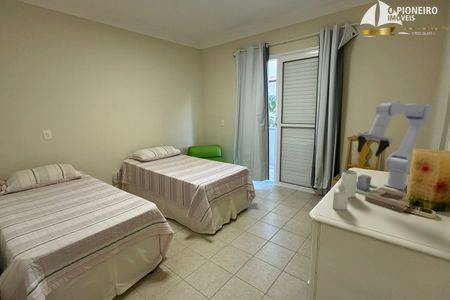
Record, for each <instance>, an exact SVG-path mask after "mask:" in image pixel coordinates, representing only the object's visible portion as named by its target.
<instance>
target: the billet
mask: <svg viewBox="0 0 450 300" xmlns="http://www.w3.org/2000/svg"><path fill="white" fill-rule="evenodd" d="M371 180H372V176H370V175H366V174H360V175H357V185H356V189H357V190H361V191H364V192H367V191H369V190H370V188H371V187H370V184H371Z"/></svg>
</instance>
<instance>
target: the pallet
mask: <svg viewBox="0 0 450 300" xmlns="http://www.w3.org/2000/svg"><path fill="white" fill-rule="evenodd" d="M406 194H407V193H405V192H402V191H399V190H398V191H397V190H394V189H390V188H386V187H384V186H383V187H381V188H380V189H378V190H376V191H374V192H372V193H370V194H368V195H365V197H364V200H365V201H366V202H370V203H372V204H376V205H380V206H382V207H385V208H387V209H392V210H394V211H398V212H401V213H404V212H405V211H404V208H405V207H406V206H407V205H409V204H410V202H407V201H406ZM388 197H389V198H388ZM390 198H391V199H390ZM394 199H395V200H394ZM392 207H393V208H392Z"/></svg>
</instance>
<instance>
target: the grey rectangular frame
mask: <svg viewBox="0 0 450 300" xmlns="http://www.w3.org/2000/svg"><path fill="white" fill-rule="evenodd" d="M356 186H357V183H356ZM370 188H373V189H372V190H370V191H369V192H367V191H361V190H358V189H357V188H356V192H355V193H359V194H361V195H365V196H366V195H368V194H370V193H372V192H374V191H376V190H378V189H380V188H382V187H381V186H378V185H374V184H371V183H370Z"/></svg>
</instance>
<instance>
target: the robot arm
mask: <svg viewBox="0 0 450 300" xmlns="http://www.w3.org/2000/svg"><path fill="white" fill-rule="evenodd" d="M375 111H376V112H375V118H374V121H373V123H372V125H371V127H370V130H369V132H368V133H366V132H357V135H356V137H357V141H358V145H357V152H358V153H361V152H362V150H363V148H364V146H365V144H366V142H368V140H372V141H378V142H379V144H378V147H377V150H376V151H375V154H374V156H375V157H376V158H379V157H380V155H381V154H382V153H383V152H384V151H385V150H386V149H387V148H388V147H390V144H391V145H392V144H393V143H394V142H395V138H391V137H387V136H384V135H385V133H386V131H387V129H388V126H389V124H390V122H391V120H392V117H395V116H396V115H401V114H404V118H405V120H406V122H407V123H408V124H410V125H409V128H408V129H407V131H406V134H405V135H404V138H403V140H402V142H401V144H400V146H399V148H398V150H397V151H394V152H391V153H390V155H389V156H388V157H387V159H386V160H385V165H386V167H387V169H388V170H389V171H388V177H387V182H386V183H384V184H383V186H384V187H385V186H386V187H389V188H394V189H397V190H404V189H406V188H407V187H408V186H407V185H408V184H407V182H408V177H409V173H408V172H410V171H409V169H410V161H411V156H412V155H411V153H412V152H413V148H414V147H415V145H416V143H417V141H418V139H419V136H420V134H421V132H422V130H423V129H424V126H425V125H426V124H428V123H429V122H430V120H431V118H432V116H433V114H434V107H433V106H432V104H425V103H404V102H401V101H400V100H399V101H397V100H395V101H389V102H388V103H387V102H386V103H385V102H383V103H380V104H378V105H377V107H376V109H375ZM406 186H407V187H406Z"/></svg>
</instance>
